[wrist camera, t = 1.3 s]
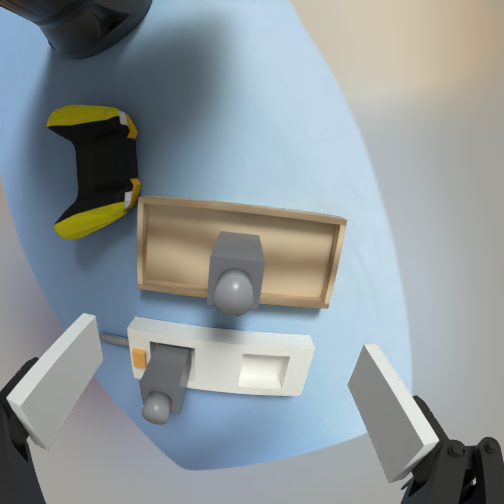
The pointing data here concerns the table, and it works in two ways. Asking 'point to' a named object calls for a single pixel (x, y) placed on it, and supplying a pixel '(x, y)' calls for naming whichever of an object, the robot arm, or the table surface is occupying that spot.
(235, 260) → the plug
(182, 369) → the twin plug
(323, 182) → the table surface
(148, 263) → the tray
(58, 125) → the gaming controller
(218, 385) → the strip
